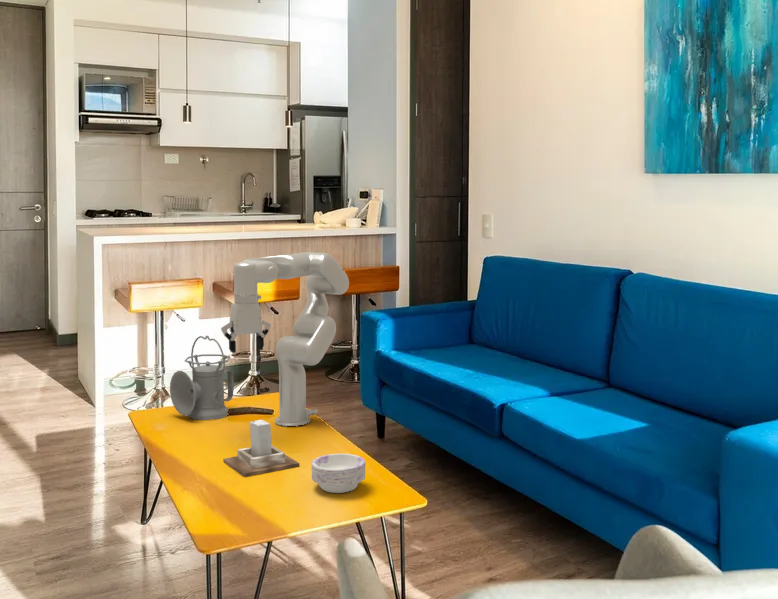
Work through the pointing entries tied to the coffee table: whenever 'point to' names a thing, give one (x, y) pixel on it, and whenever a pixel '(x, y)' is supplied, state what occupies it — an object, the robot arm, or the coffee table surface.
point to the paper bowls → (338, 472)
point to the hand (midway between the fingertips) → (246, 350)
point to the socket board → (259, 462)
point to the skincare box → (260, 438)
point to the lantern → (202, 388)
